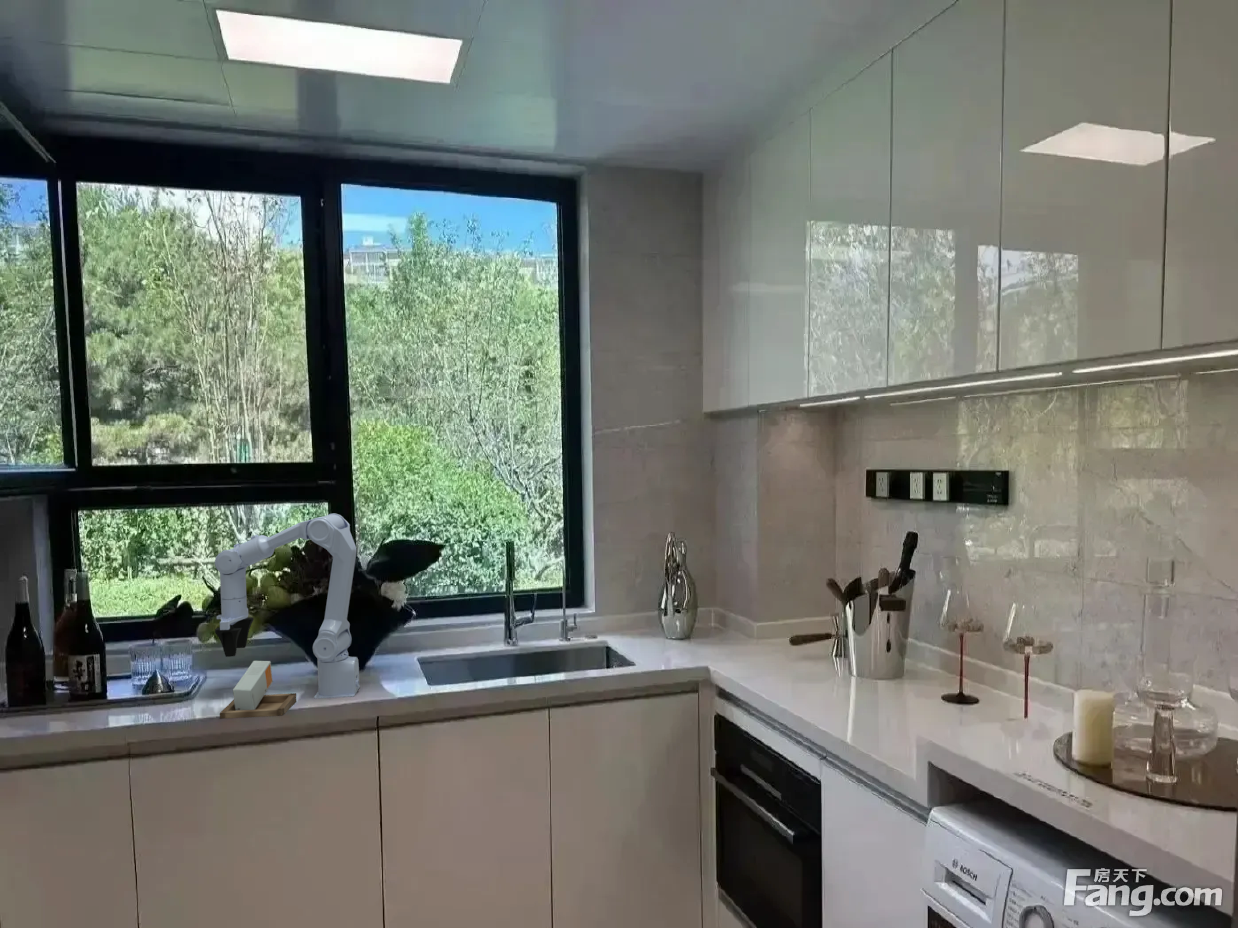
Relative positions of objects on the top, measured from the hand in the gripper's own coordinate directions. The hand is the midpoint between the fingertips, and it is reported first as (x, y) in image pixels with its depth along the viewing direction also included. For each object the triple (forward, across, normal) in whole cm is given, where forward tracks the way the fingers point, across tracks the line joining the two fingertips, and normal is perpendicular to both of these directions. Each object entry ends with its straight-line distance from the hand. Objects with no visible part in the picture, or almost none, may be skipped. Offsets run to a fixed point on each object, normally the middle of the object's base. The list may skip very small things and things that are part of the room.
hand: (235, 651), depth 202 cm
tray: (+10, +16, +10) cm, 22 cm away
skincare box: (+3, +6, +8) cm, 11 cm away
